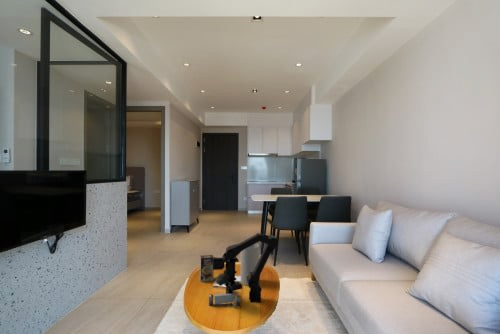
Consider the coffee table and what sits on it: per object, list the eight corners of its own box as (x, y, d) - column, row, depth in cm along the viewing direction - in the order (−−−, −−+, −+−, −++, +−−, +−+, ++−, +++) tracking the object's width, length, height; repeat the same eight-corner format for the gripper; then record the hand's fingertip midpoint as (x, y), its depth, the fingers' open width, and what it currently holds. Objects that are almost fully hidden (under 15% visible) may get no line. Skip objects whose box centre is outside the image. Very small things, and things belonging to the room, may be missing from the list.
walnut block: (233, 291, 174) (233, 284, 174) (232, 294, 170) (233, 287, 170) (226, 291, 174) (226, 283, 174) (225, 294, 170) (225, 286, 170)
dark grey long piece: (208, 307, 154) (208, 297, 154) (209, 303, 157) (209, 294, 157) (240, 307, 153) (240, 297, 154) (240, 304, 157) (240, 294, 157)
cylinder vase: (259, 279, 193) (259, 243, 193) (258, 286, 181) (258, 248, 181) (241, 278, 194) (242, 242, 195) (239, 285, 182) (239, 247, 182)
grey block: (214, 304, 156) (214, 295, 156) (214, 302, 157) (214, 294, 157) (235, 302, 158) (235, 293, 158) (235, 300, 160) (235, 292, 160)
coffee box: (200, 282, 187) (200, 258, 187) (199, 278, 193) (199, 255, 193) (213, 280, 190) (214, 257, 190) (212, 277, 196) (212, 254, 196)
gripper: (210, 266, 164) (210, 292, 164) (225, 277, 148) (224, 306, 148) (227, 263, 170) (227, 288, 170) (243, 273, 154) (242, 301, 154)
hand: (229, 295), depth 160 cm, fingers closed
